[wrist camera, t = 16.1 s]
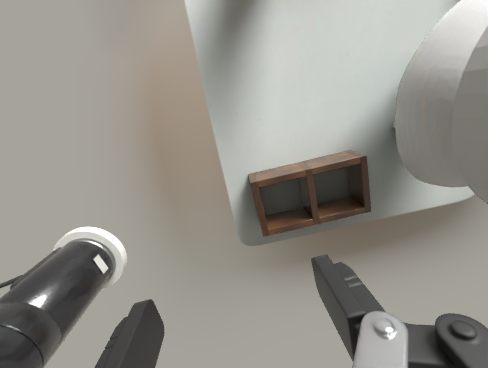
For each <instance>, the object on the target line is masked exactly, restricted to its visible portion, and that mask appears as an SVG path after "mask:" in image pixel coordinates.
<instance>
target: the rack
mask: <svg viewBox="0 0 488 368" xmlns="http://www.w3.org/2000/svg"><path fill="white" fill-rule="evenodd" d="M343 167H347V174H348V184H349V193H350V197H346V198H342V199H337V200H333V201H329V202H324V203H320V204H317V200H316V193H315V187H314V180H313V174H317V173H322V172H326V171H330V170H334V169H338V168H343ZM296 178H299V180H300V186H301V192H302V198H303V204H304V207H303V208H299V209H295V210H290V211H286V212H282V213H278V214H273V215H269V216H265V213H264V209H263V204H262V200H261V196H260V191H259V187H262V186H267V185H271V184H275V183H279V182H284V181H288V180H292V179H296ZM249 179H250V183H251V187H252V191H253V196H254V200H255V204H256V208H257V213H258V217H259V221H260V225H261V229H262V233H263V237H264V236H268V235H273V234H277V233H281V232H286V231H290V230H294V229H298V228H303V227H307V226H311V225H316V224H320V223H324V222H328V221H333V220H337V219H341V218H346V217H350V216H354V215H359V214H363V213H367V212H371V202H370V190H369V178H368V165H367V155H364V154H361V153H358V152H355V151H352V150H348V151H344V152H340V153H336V154H332V155H327V156H323V157H319V158H315V159H311V160H307V161H303V162H298V163H294V164H290V165H286V166H282V167H277V168H273V169H269V170H265V171H261V172H256V173H252V174H249Z"/></svg>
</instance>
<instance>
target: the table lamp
mask: <svg viewBox="0 0 488 368" xmlns="http://www.w3.org/2000/svg"><path fill="white" fill-rule="evenodd" d="M393 128H394V129H396V141H397V147H398V151H399V154H400V157H401V159H402V162H403V163H404V165H405V167H406V168H407V170H408V171H409V172H410V174H411V175H413V176H414V177H415V178H417V179H418V180H420V181H423V182H425V183H429V184H433V185H438V186H445V187H465V186H469V188H470V189H471V190H472V191H473V192H474V193H475V194H476V195H477V196H478V197H479V198H480V199H482V200H483V201H484V202H486V203H487V204H488V0H461V1H460V2H458V3H457V4H456V5H455V6H454V7H453V8H452V9H451V10H450V11H448V12H447V13H446V14H445V15H444V16H443V17H442V19H441V20H440V21H439V22H438V23H437V24H436V25H435V26H434V28H433V29H432V30H431V31H430V33H429V34H428V35H427V37H426V38H425V39H424V41H423V42H422V43H421V45H420V46H419V48H418V49H417V51H416V52H415V54H414V56H413V57H412V59H411V61H410V62H409V64H408V66H407V68H406V70H405V72H404V74H403V77H402V79H401V82H400V85H399V89H398V94H397V99H396V111H395V121H394V122H393Z"/></svg>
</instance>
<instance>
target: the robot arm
mask: <svg viewBox="0 0 488 368" xmlns="http://www.w3.org/2000/svg"><path fill="white" fill-rule="evenodd" d="M311 260H312V266H313V271H314V276H315V282H316V286H317V289H318V292H319V295H320V297H321V299H322V301H323V303H324V305H325V307H326V309H327V311H328V313H329V315H330V317H331V319H332V321H333V323H334V325H335V327H336V329H337V331H338V333H339V335H340V337H341V339H342V341H343V343H344V345H345V347H346V349H347V351H348V353H349V355H350V357H351V359H352V361H353V367H352V368H488V329H487V328H486V327H485V326H484V325H482V324H481V323H480V322H478V321H476V320H474V319H472V318H470V317H467V316H464V315H460V314H451V313H449V314H444V315H441V316H439V317H438V318H437V319H436V322H435V326H433V325H413V324H407V323H404V322H402V321H401V320H400V319H399V318H398V317H396V316H394V315H392V314H390V313H387V312H386V311H385V310H384V309H383V308H382V307H381V305H380V304H379V303H378V302H377V300H376V299H375V298H374V296H373V295H372V294H371V293H370V291H369V290H368V289H367V288H366V287H365V285H364V284H363V283H362V281H361V280H360V279H359V278H358V277H357V275H356V274H355V273H354V271H353V270H352V269H351V268H350V267H348V266H347V265H345V264H343V263H341V262H340V263H336V264H333V262H332V261H331V260H330V258H329V257H328V255H323V256H318V257H314V258H312V259H311ZM115 268H116V261H115V257H114V255H113V253H112V252H111V251H110V249H109V248H108V247H107V246H105V245H104V244H102V243H101V242H99V241H96V240H93V239H89V238H79V239H75V240H72V241H70V242H68V243H67V244H66V245H65V246H63V247H59V248H57V249H56V250H54V251H53V252H52V253H51V254H49V255H48V256H47V257H46V258H44V259H43V260H42V261H40V262H39V263H38V264H37V265H35V266H34V267H33V268H32V269H30V270H29V271H28V272H27V273H25V274H24V275H21V276H18V277H16V278H14V279H12V280H9V281H7V282H4V283H2V284H0V288H2V287H4V286H7V285H10V284H12V283H13V284H12V285H11V286H10V291H9V292H8V293H6V294H5V295H4V296H2V298H0V368H44V367H45V366H46V364H47V363H48V362H49V360H50V359H51V357H52V356H53V355H54V353H55V352H56V351H57V349H58V348H59V346H60V345H61V344H62V342H63V341H64V340H65V338H66V337H67V336H68V334H69V333H70V331H71V330H72V329H73V327H74V326H75V325H76V323H77V322H78V321H79V319H80V318H81V316H82V315H83V314H84V312H85V311H86V310H87V308H88V307H89V305H90V304H91V303H92V301H93V300H94V298H95V297H96V296H97V294H98V293H99V292H100V290H101V289H102V288H103V286H104V285H105V284H106V282H107V281H108V280H109V279H110V278H111V276H112V275H113V274H114V272H115ZM163 337H164V325H163V322H162V319H161V317H160V315H159V313H158V310H157V309H156V306H155V304H154V302H153V301H152V300H151V299H150V300H146V301H142V302H138V303H135V304H134V305H133V307H132V309H131V311H130V313H129V315H128V317H125V318H124V319H123V320H122V321H121V322H120V323H119V324H118V326H117V327H116V328H115V330H114V332H113V334H112V336H111V337H110V341H108V343H107V345H106V347H105V350H104V351H103V353H102V355H101V357H100V359H99V360H98V362H97V364H96V366H95V368H155V366H156V362H157V359H158V355H159V352H160V348H161V345H162V341H163Z"/></svg>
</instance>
